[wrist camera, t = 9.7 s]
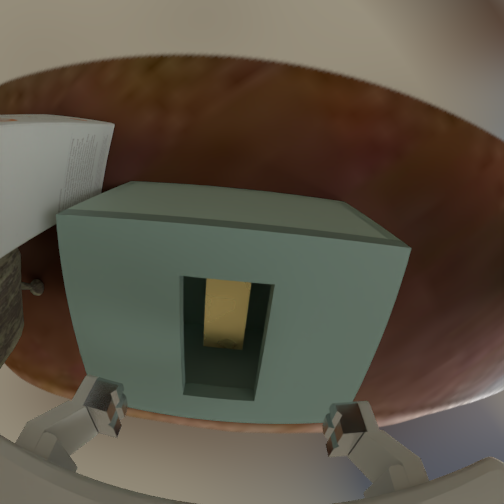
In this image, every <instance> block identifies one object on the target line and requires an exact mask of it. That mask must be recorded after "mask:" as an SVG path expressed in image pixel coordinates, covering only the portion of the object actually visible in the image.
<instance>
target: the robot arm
mask: <svg viewBox="0 0 504 504" xmlns="http://www.w3.org/2000/svg"><path fill="white" fill-rule="evenodd" d="M123 391H124V386H123V384H122V383H118V382H115V381H111V380H107V379H104V378H100V377H97V376H93V375H90V374H88V375H87V376H85V378H84V380H83V381H82V383H81V385H80V387H79V388H78V390H77V392H76V394H75V396H74V397H73V399H72V401H66V402H65V403H63V404H61V405H59V406H57V407H55V408H53V409H51V410H49V411H48V412H46V413H44V414H42V415H40V416H38V417H36V418H34V419H32V420H30V421H28V422H27V424H26V425H25V427H24V429H23V430H22V432H21V434H20V436H19V437H18V439H17V441H16V443H13V442H11V441H10V440H8V439H6V438H5V437H3V436H1V435H0V504H196V503H188V502H182V501H176V500H170V499H165V498H160V497H155V496H150V495H146V494H142V493H138V492H134V491H130V490H127V489H123V488H119V487H116V486H113V485H109V484H106V483H103V482H100V481H97V480H94V479H92V478H89V477H86V476H83V475H81V474H78V473H76V470H77V466H76V464H75V463H74V461H73V460H72V459H71V457H70V455H71V454H73V453H74V452H75V451H76V450H78V449H79V448H81V447H82V446H83V445H84V444H85V443H87V442H88V441H90V440H91V439H92V438H94V437H95V436H96V435H97V434H98V433H101V434H105V435H108V436H112V437H118V434H119V431H120V429H121V422H120V420H121V419H123V418H124V417H125V415H126V412H127V406H128V404H127V397H126V396H125V395H124V394H123ZM329 411H330V413H328V414H327V415H326V416H325V418H324V421H323V434H324V436H325V437H326V438H327V439H328V441H327V443H326V448H327V453H328V457H339V456H348V458H349V459H350V460H351V461H352V462H353V463H354V464H355V465H356V466H357V467H358V468H359V469H360V470H361V472H363V474H364V475H366V477H367V478H368V479H369V480H370V481H371V482H372V483H373V484H372V485H371V486H370V487H369V488H368V489H367V490H366V491H365V492H364V497H365V498H364V499H359V500H353V501H348V502H341V503H334V504H504V463H503V462H501V461H499V460H498V459H496V458H493V457H486V458H484V459H482V460H480V461H477V462H475V463H473V464H471V465H469V466H467V467H465V468H462V469H460V470H457V471H455V472H452V473H450V474H447V475H445V476H442V477H439V478H436V479H434V480H431V481H429V479H428V476H427V474H426V471H425V469H424V466H423V464H422V461H421V459H420V458H419V457H418V456H417V455H415V454H414V453H412V452H411V451H410V450H408V449H407V448H406V447H404V446H403V445H402V444H400V443H399V442H398V441H396V440H395V439H394V438H392V437H391V436H390V435H388V434H387V433H386V432H385V431H383V430H379V427H378V425H377V422H376V419H375V417H374V414H373V412H372V409H371V406H370V404H369V402H368V401H360V402H342V403H332V404H331V405H330V407H329Z"/></svg>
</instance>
